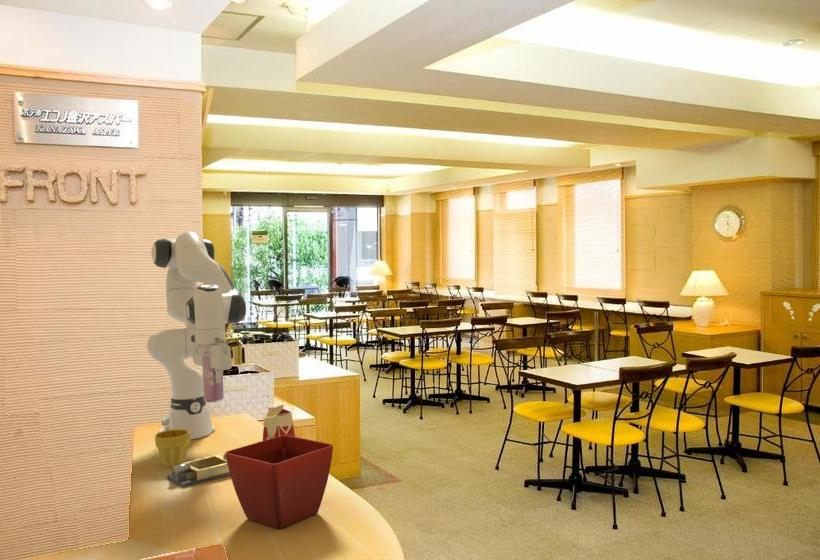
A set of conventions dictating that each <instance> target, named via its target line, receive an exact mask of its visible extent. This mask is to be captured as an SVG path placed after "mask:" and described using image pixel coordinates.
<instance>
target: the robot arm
mask: <svg viewBox="0 0 820 560" xmlns="http://www.w3.org/2000/svg"><path fill="white" fill-rule="evenodd" d="M150 252H151V253H150V254H151V258H152V261H153V264H154V265H155V266H156V267H159V268H162V269H166V268H168V269H167V273H166V281H165V282H166V283H165V296H166V299H165V300H166V310H167V311H166V312H167V314H168V316H169V317H170V318H172V319H173V320H176V321H178V322H181V323H183V324H184V325H185V326H186V327H185V328H171V329H164V330H159V331H155V332H152V334H151V335H150V336H149V337H148V340H147V343H146V349H147V352H148V354H149V355H150V357H151V358H152V359H154V360H155V361H157V362H158V363H160V364H161V365H162V366H163V367H164V368H165V370H166V372H167V374H168V376H169V380H170V387H171V394H172V395H171V398H170V409H169V410H168V412H167V413H166V415H165V416H164V418H163V419H161V425H162V426H164V427H161V428H159V429H158V430H157V433H160V432H163V431H167V430H174V429H185V430H188V431H190V440H194V439H195V440H196V439H200V438H205V437H206V436H209V435H210V434H211V433H212V432H214V431H216V427H214V426H213V425H212V417H211V411H210V408H209V407H208V406H206V405H207V402H205V401H204V394H203V372H201V371H200V370H199V369H197V368H194V367H193V366H192V367H191V366H189V365H187V364H186V363H185V360H187V359H192V361H193V363H194V365H195V366H198V367H199V366H200V367H201V369H202V371H203V367H202V356H203V353H207V354H211V355H210V367H211V368H213V369H215V372H216V375H215V377H214V382H215V383H221V382H222V374H223V375H224V371H225V370H226V371H227V370H230V369H232V367H233V366H232V365H233V362H232V353H231V352H232V351H231V347H230V346H229V344H228V343H227V342H226V341H227V339H226V325H225V324H228V325H229V324H234V325H235V324H236V325H237V324H238V323H240V322H241V321H242V320H244V318H245V317H246V314H247V305H246V304H247V303H246V301H245V299H244V297H243V296H242V295H241V294H240V292H239V291H238V289H237V288H236V286H235V284H234V283H233V280H232V279H231V278H230V276H229V274H228V272H227V271H226V268H225V267H224V266H223V265H222V264H221V263H218V262H217V261H215V258H216V249H215V245H214V244H213V242H212V241H211V240H208V239H205V238H204V239H203V238H201V236H200V235H199V234H197V233H196V232H194V231H186V232H182V233H181V234H179V235H178V236H177V237H176V238H161V239H157V240H156V241H155V242H154V243H153V245H152V248H151V251H150ZM198 283H204V284H202V285H197V284H198Z"/></svg>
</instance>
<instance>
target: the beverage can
mask: <svg viewBox="0 0 820 560" xmlns="http://www.w3.org/2000/svg"><path fill="white" fill-rule="evenodd" d="M210 355H211V354H207V353H203V356H202V366H201V368H202V367H203V370H202V375H203V394H204V401H205V402H206V403H218V402H222V401H223V399H224V397H225V396H224V373H223V374H222V382H221V383H215V382H214V377H215V375H216V372H215V369H213V368H211V367H210Z"/></svg>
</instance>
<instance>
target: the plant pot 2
mask: <svg viewBox="0 0 820 560" xmlns="http://www.w3.org/2000/svg"><path fill="white" fill-rule="evenodd" d="M333 451H334V444H332V443H327V442H323V441H317V440H314V439H308V438H303V437H297V436H296V437H293V436H288V435H282V436H279V437H275V438H271V439H268V440H264V441H263V440H261V441H258V442H254V443H251V444H248V445H244V446H240V447H237V448H234V449H230V450H227V451H225V452H224V454H226V459H227V464H228V468H229V472H230V475H229V476H230V479H231V482H232V485H233V488H234V491H235V494H236V496H237V499H238V502H239V505H240V506H241V508H242V511H243V513H244V515H245V517H246V519H248V520H250V521H251V520H252V522H253V521H255V522H257V523H259V524H262V525H266V526H268V527H272V528H274V529H279V530H280V529H283V528H285V527H288V526H290V525H292V524H295V523H297V522H299V521H303V520H305V519H307V518H310V517H312V516H314V515H316V514H318V513H319V510H320V507H321V505H322V501H323V498H324V494H325V492H326V491H325V490H326V488H327V483H328V481H329V476H330V472H331V464H332V459H333Z"/></svg>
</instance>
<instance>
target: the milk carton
mask: <svg viewBox="0 0 820 560" xmlns="http://www.w3.org/2000/svg"><path fill="white" fill-rule="evenodd" d="M284 406H285V404H280V405H278V406H273V407H266V408H267V410H268V411H267V412H266V415H265V417H264V418H263V419H264V421H263V431H262V441H264V440H268V439H271V438H275V437H279V436H282V435H288V436H293V437H297V435H296V430H295V425H294V420H293V419H294V418H293V416H292V415H293V414H292V412H291V411H290V410H288V409H285V408H284Z"/></svg>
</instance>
